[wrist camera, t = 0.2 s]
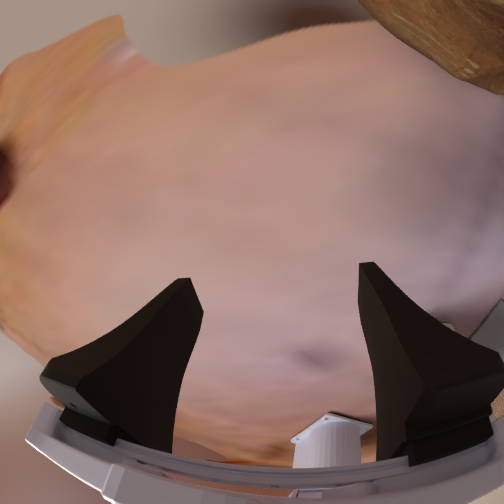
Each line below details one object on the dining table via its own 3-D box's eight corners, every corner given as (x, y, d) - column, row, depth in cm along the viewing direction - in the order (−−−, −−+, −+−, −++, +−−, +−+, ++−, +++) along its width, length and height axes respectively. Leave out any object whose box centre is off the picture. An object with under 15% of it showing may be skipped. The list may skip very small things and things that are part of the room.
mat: (450, 426, 28) (450, 427, 28) (388, 412, 28) (389, 414, 28) (539, 338, 20) (540, 339, 19) (500, 298, 19) (501, 300, 19)
